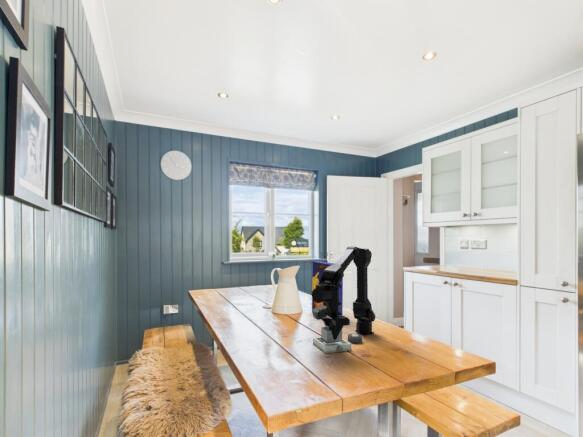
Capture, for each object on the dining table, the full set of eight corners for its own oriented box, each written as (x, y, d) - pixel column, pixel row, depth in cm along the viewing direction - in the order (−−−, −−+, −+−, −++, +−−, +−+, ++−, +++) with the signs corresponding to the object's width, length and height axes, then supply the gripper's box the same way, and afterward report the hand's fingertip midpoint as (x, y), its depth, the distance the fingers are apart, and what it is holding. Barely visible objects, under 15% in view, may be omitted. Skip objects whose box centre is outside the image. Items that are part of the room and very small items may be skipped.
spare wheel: (356, 338, 145) (356, 332, 145) (364, 342, 139) (364, 336, 139) (345, 339, 142) (345, 333, 143) (352, 344, 137) (352, 338, 137)
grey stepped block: (336, 337, 137) (336, 323, 137) (342, 341, 132) (342, 326, 133) (321, 339, 134) (321, 324, 135) (326, 343, 130) (327, 327, 130)
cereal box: (311, 312, 191) (312, 261, 193) (320, 311, 194) (321, 260, 195) (333, 321, 172) (333, 264, 173) (342, 320, 175) (342, 264, 176)
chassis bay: (335, 339, 142) (335, 333, 142) (353, 351, 128) (353, 345, 129) (311, 342, 138) (311, 336, 138) (327, 355, 124) (327, 348, 124)
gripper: (305, 296, 140) (304, 332, 139) (325, 305, 123) (324, 347, 122) (328, 294, 144) (327, 330, 143) (350, 303, 127) (350, 344, 126)
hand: (331, 337), depth 133 cm, fingers closed on grey stepped block, 5 cm apart
